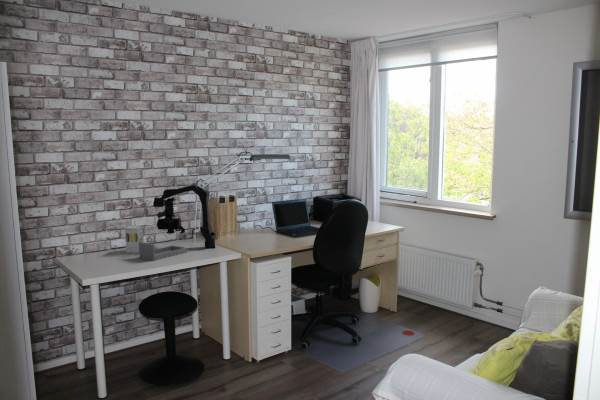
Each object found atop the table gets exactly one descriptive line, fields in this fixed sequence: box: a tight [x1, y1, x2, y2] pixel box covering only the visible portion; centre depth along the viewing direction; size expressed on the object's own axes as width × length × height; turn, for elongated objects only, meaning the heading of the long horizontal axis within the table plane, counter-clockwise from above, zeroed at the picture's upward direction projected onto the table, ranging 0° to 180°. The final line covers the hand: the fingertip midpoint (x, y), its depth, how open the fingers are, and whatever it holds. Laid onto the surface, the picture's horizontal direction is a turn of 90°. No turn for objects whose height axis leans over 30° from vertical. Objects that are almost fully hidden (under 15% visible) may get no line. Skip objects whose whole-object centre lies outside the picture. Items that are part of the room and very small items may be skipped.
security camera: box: [156, 217, 186, 235], centre depth 341 cm, size 7×18×10 cm, turn 90°
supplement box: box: [124, 225, 145, 254], centre depth 331 cm, size 10×9×17 cm
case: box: [139, 242, 188, 262], centre depth 319 cm, size 27×14×10 cm, turn 144°
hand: (170, 229), depth 341 cm, fingers closed on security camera, 7 cm apart
